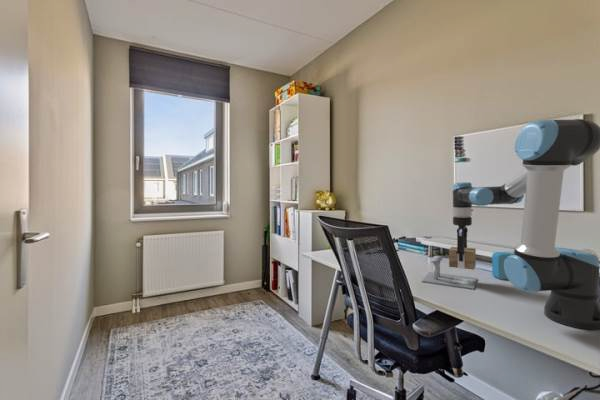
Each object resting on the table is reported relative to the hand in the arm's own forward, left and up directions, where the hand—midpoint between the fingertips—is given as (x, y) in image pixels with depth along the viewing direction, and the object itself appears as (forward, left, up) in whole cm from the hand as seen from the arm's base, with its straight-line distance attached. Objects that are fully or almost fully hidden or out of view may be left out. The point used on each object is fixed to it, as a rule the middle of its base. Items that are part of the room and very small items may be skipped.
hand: (462, 265), depth 138 cm
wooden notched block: (0, 0, 0) cm, 0 cm away
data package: (+17, -17, -8) cm, 25 cm away
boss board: (0, +5, -8) cm, 9 cm away
